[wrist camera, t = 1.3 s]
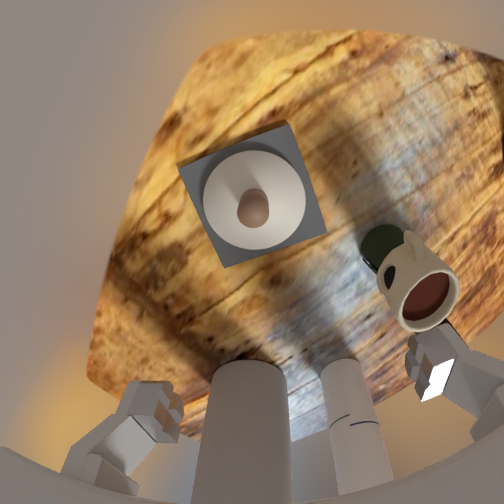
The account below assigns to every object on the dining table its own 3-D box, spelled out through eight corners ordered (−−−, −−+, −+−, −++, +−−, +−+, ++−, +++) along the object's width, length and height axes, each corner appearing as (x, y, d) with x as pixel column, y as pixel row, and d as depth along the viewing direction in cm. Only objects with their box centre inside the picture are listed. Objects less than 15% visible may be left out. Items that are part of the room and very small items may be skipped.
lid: (283, 135, 27) (288, 136, 23) (316, 227, 31) (325, 244, 27) (188, 173, 29) (176, 182, 25) (228, 258, 33) (223, 279, 29)
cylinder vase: (204, 359, 42) (173, 507, 19) (283, 353, 40) (292, 512, 18) (221, 402, 47) (205, 523, 24) (288, 399, 45) (294, 525, 23)
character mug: (348, 213, 31) (394, 262, 19) (400, 198, 30) (463, 237, 18) (362, 288, 35) (397, 355, 23) (408, 273, 34) (454, 331, 22)
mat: (288, 124, 27) (289, 123, 27) (326, 230, 32) (327, 232, 32) (179, 168, 30) (177, 169, 29) (224, 266, 35) (224, 268, 34)
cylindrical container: (360, 379, 43) (393, 503, 20) (322, 389, 44) (341, 517, 21) (360, 353, 40) (402, 493, 18) (318, 364, 41) (341, 510, 19)
